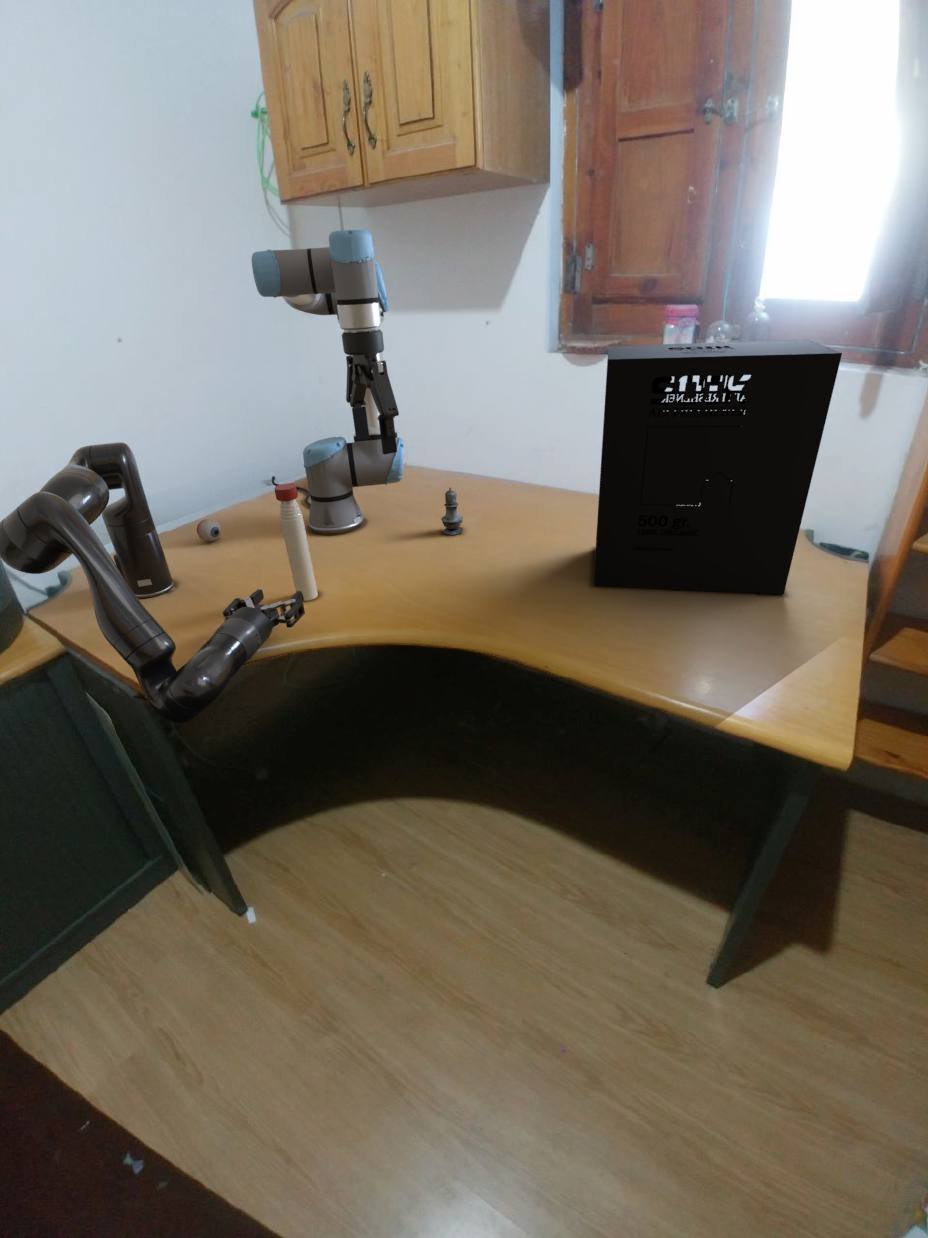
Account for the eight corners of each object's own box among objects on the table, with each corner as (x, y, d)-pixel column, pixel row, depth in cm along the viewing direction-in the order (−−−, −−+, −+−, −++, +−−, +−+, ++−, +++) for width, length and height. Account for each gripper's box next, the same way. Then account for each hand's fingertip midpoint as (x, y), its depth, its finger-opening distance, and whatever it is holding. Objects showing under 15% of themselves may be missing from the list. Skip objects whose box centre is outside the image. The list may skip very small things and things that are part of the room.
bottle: (307, 589, 135) (286, 483, 123) (322, 594, 133) (301, 486, 121) (292, 598, 132) (269, 490, 120) (307, 602, 130) (284, 493, 118)
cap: (287, 493, 124) (285, 482, 123) (302, 496, 122) (300, 484, 121) (272, 499, 121) (269, 488, 120) (286, 502, 119) (284, 491, 118)
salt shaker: (461, 535, 158) (459, 491, 152) (439, 534, 159) (436, 490, 153) (465, 527, 163) (463, 483, 157) (444, 526, 164) (441, 483, 158)
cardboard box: (762, 553, 139) (808, 339, 116) (783, 594, 122) (842, 352, 99) (595, 547, 147) (608, 345, 124) (593, 585, 129) (608, 359, 107)
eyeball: (210, 546, 160) (204, 525, 157) (195, 542, 163) (189, 521, 160) (228, 538, 164) (223, 518, 161) (213, 535, 167) (208, 514, 164)
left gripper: (273, 620, 104) (310, 578, 117) (198, 616, 106) (243, 575, 120) (282, 656, 107) (317, 612, 121) (209, 652, 110) (252, 608, 124)
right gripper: (409, 331, 103) (420, 455, 114) (355, 324, 122) (368, 431, 132) (369, 335, 100) (384, 462, 110) (319, 328, 119) (336, 437, 129)
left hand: (280, 594), depth 121 cm, fingers open, 8 cm apart
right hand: (375, 446), depth 121 cm, fingers open, 13 cm apart
